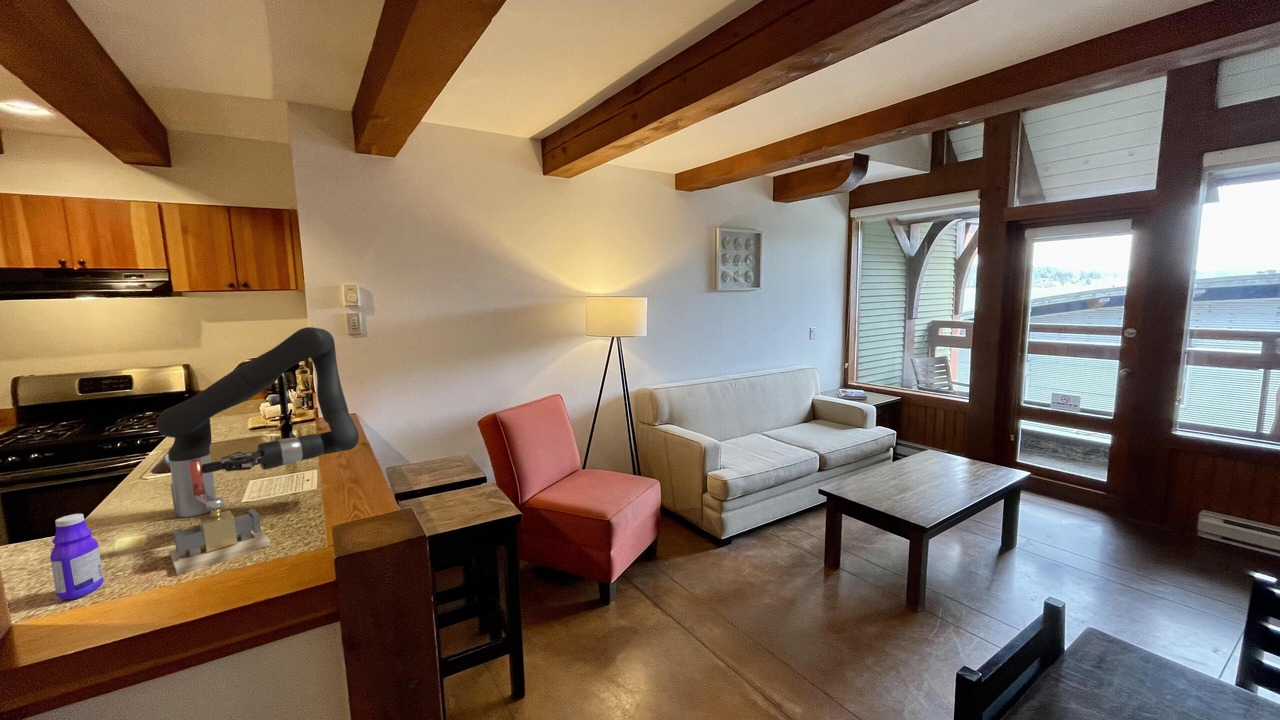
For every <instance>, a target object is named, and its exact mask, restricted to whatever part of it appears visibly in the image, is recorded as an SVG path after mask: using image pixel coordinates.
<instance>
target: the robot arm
mask: <svg viewBox="0 0 1280 720" xmlns="http://www.w3.org/2000/svg"><path fill="white" fill-rule="evenodd" d="M309 359H310V360H311V361H312V363H313V366H314V369H315V373H316V381H317V382H316V383H317V384H316V394H317V401H318V405H319V409H320V412H321V415H322V418H323V420H324V422H325V423H326V424H328V426H329V429H330V431H324V432H321V433H318V434H315V433H313V434H307V435H302V436H297V437H287V438H280V439H276V440H270V441H266V442H261V443H258V445H257V450H256V451H250V450H246V451H243V452H242V451H237V452H234V453H231V454H229V455H227V456H224V457H221V458H220V459H219V460H217V461H213V462H212V457H211V449H210V448H211V444H212V427H211V418H212V417H214V416H215V415H217V414H219V413H221V412H223V411H226V410H229V409H230V408H232V407H235V406H237V405H239V404H242V403H243V402H246V401H247V400H250V399H251V398H253V397H255V396H257V395H259V394H260V393H262V392H263V391H265V390H267V389H268V388H270V387H271V386H272V385H273V384H275V383H276V382H277V381H278V380H279V378H280V377H281V376H282V375H283V374H285V372H286V371H287V370H289V369H290V368H292V367H293V366H296V365H297V364H300V363H301V362H303V361H306V360H309ZM155 425H156V430H157V431H158V433H160V434H161V435H162V436H163V437H168V438H174V441H173V444H172V445H171V447H170V449H169V450H168V452H167V453H168V454H167V456H168V461H169V469H170V475H171V481H172V482H171V484H170V490H171V491H170V492H171V497H172V505H173V510H174V511H173V512H174V515H176V516H177V517H178V518H179V517H180V518H188V517H189V518H190V517H195V516H200V515H201V516H202V515H204V514H207V513H209V512H211V510H208V509H207V506H206V504H205V503H203V502H201V501H199V500H197V499H196V496H193V490H192V482H191V475H190V468H189V461H192V460H201V464H202V472H203V479H204V486H205V494H206V495H208V496H210V497H212V498H217V493H216V488H215V487H216V486H215V480H214V478H215V477H214V473H215V472H218V471H225V472H235V471H236V472H237V471H247V470H248V471H250V470H251V469H252V468H254V467H255V466H259V465H260V467H261V468H262V469H261V470H270V469H274V468H278V467H283V466H287V465H292V464H295V463H297V462H302V461H305V460H310V459H314V458H317V457H320V456H323V455H328V454H329V455H330V454H333V453H339V452H346V451H350V450H352V449H354V448H356V446H357V445H358V443H359V442H360V440H359V439H360V436H359V431H358V429H357V426H356V425H355V422H354V421H353V419H352V416H351V415H350V412H349V408H348V404H347V401H346V398H345V395H344V391H343V388H342V384H341V378H340V374H339V369H338V363H337V354H336V345H335V338H334V337H333V335H332V334H331V333H330V332H329V331H328V330H325V329H324V328H320V327H313V326H312V327H311V326H309V327H303V328H300V329H298V330H297V331H295V332H293V333H292V334H291V335H290V336H288V337H287V338H286V339H284V340H283V341H281V342H280V343H278V345H276V346H274V347H273V348H271V349H270V350H268V351H266V352H264V353H262V354H260V355H259V356H257V357H255V358H253V359H251V360H249V361H248V362H246V363H245V364H242V365H240V366H239V367H237V368H236V369H234V370H232V371H230V372H229V373H227V374H225V375H224V376H223V377H222V378H221V377H220V379H218V380H216V381H215V382H214V383H212V384H211V385H209V386H208V387H207V388H205V389H203V390H202V391H201V392H199V393H198V394H195V395H194V396H192V397H191V398H189V399H186V400H184V401H182V402H180V403H178V404H176V405H173V406H171V407H168V408H166V409H164V410H163V411H162V412H161V413H160V414H159V416H158V417H157V419H156V424H155Z"/></svg>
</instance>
